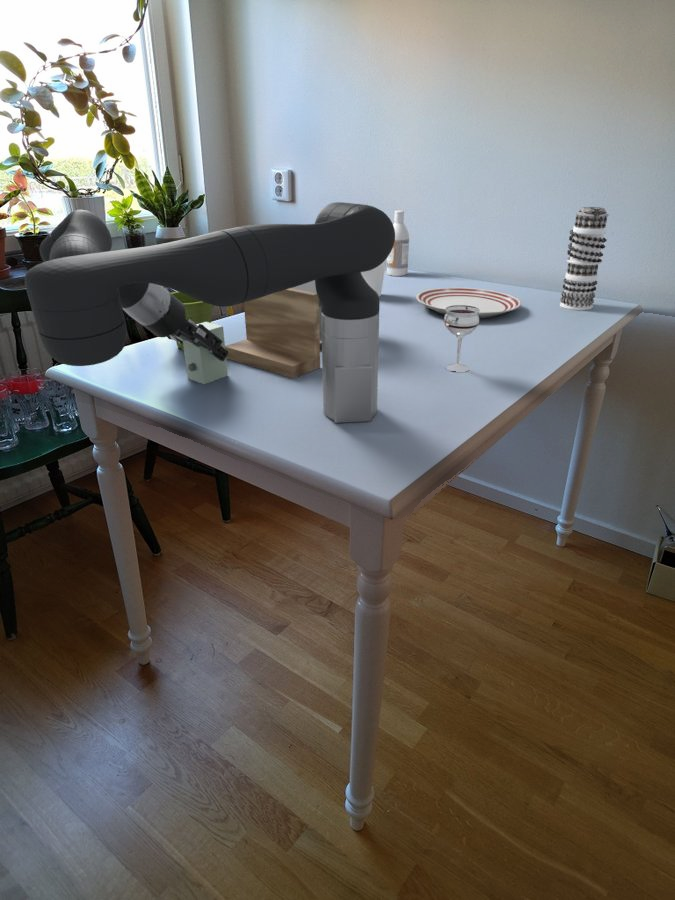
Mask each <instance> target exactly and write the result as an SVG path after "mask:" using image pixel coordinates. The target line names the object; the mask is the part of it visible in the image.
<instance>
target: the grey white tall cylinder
mask: <svg viewBox="0 0 675 900" xmlns="http://www.w3.org/2000/svg"><path fill="white" fill-rule="evenodd" d="M609 216H610V214H608V213H607V210H606V209H605V208H604V207H601V206H599V207H598V206H585V207H581V208H580V209H579V211H578V212H576V213H575V220H574V225H573V229H572V230H569V234H570V235H569V237H568V240H569V241H570V243H569V244H568V245H567V247H568V250H567V251H566V252H567V253H566V254H567V255H569V256H568V257H567V259H566V262H567V270H566V272H565V278H563V283H564V284H563V285H562V289H563V290H562V291H561V292H560V294H561V297H560V302H559V306H560V307H561V308H562V309H563V308H564V309H567V310H572V311H573V310H574V311H588V310H592V309H593V304H594V303H595V300H594V298H596V294H595V292H594V291H596V290H597V284H598V281H597V279H598V269H599V265H600V264H601V263H602V262H603V260H602V259H601V257H603V256H604V253H603V252H602V250H604V249H605V248H606V245H605V244H604V243H606V242H607V239H606V238H605V237H604V235H605V234H606V231H607V221H608V217H609Z"/></svg>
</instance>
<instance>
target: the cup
mask: <svg viewBox="0 0 675 900" xmlns="http://www.w3.org/2000/svg"><path fill="white" fill-rule="evenodd" d="M386 267H387V259H386V260H385V261H384V262H383V263H382V264H381V265H379V266H378V267H376V268H374V269H372V270H369V271H365V272H361V274H362V276H363V278H364V279H365V281H366V282H367V283H368V285H369V286H370V287H371V288H372V289H373V290H374V291H376V293H377V294H378V296H379V298H380V297H381V296H382V290H383V285H384V278H385V272H386V271H385V270H386Z"/></svg>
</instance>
